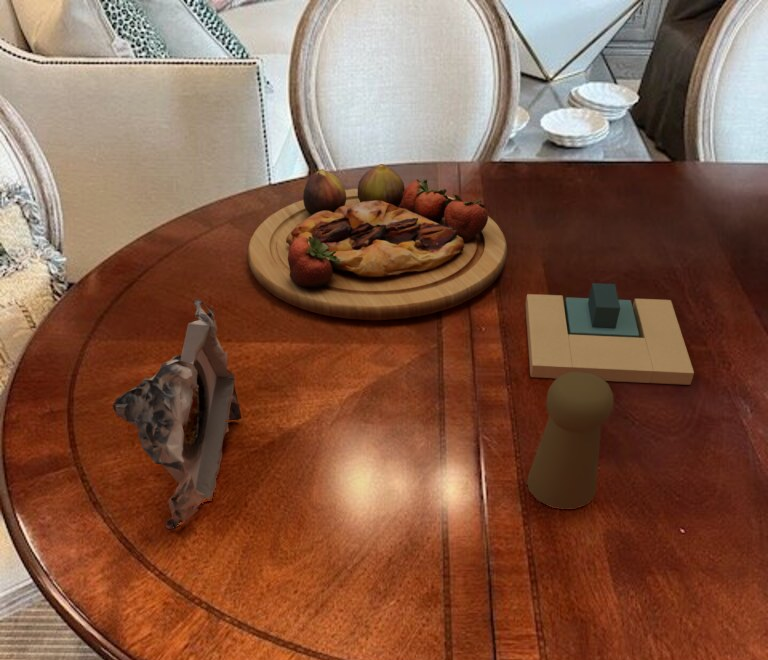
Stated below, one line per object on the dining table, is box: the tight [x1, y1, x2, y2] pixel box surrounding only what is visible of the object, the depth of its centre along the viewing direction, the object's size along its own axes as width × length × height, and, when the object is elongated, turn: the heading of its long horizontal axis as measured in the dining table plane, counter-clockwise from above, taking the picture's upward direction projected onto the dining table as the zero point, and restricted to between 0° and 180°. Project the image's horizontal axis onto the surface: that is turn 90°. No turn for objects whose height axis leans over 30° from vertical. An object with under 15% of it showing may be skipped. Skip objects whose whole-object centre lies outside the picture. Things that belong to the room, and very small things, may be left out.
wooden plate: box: [246, 163, 508, 321], centre depth 95 cm, size 32×32×8 cm
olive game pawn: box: [526, 372, 614, 509], centre depth 65 cm, size 6×6×11 cm
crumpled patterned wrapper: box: [112, 298, 242, 531], centre depth 65 cm, size 15×4×13 cm, turn 174°
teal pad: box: [564, 282, 639, 338], centre depth 85 cm, size 7×7×4 cm
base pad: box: [525, 293, 695, 386], centre depth 84 cm, size 16×14×2 cm
